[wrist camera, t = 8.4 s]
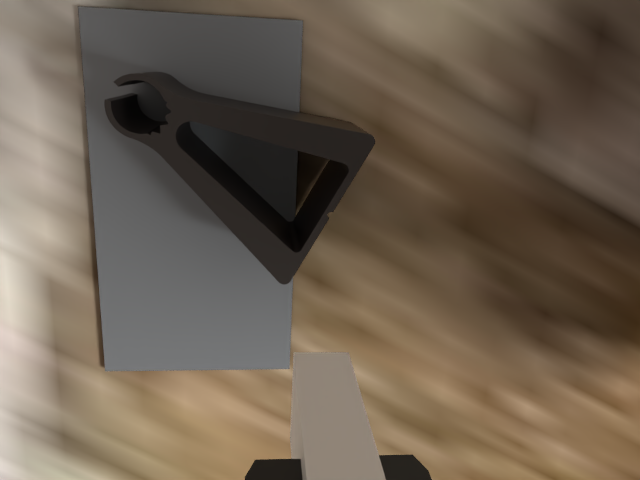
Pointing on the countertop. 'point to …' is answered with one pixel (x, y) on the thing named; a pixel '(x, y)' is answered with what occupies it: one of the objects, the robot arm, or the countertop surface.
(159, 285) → the mat
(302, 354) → the robot arm
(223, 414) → the countertop surface
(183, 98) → the phone stand
